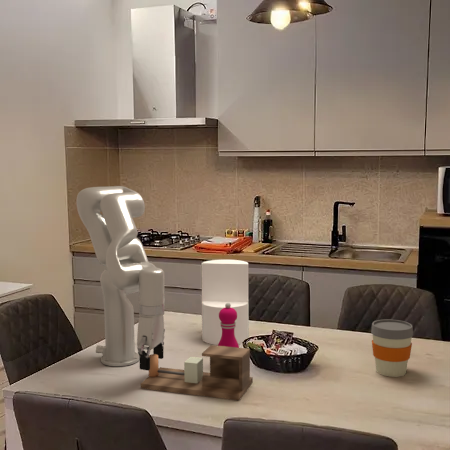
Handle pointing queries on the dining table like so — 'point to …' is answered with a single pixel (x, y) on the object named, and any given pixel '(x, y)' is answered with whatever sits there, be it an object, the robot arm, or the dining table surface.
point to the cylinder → (224, 298)
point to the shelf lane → (210, 375)
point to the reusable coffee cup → (391, 346)
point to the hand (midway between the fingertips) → (151, 363)
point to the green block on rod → (191, 372)
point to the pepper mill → (228, 326)
